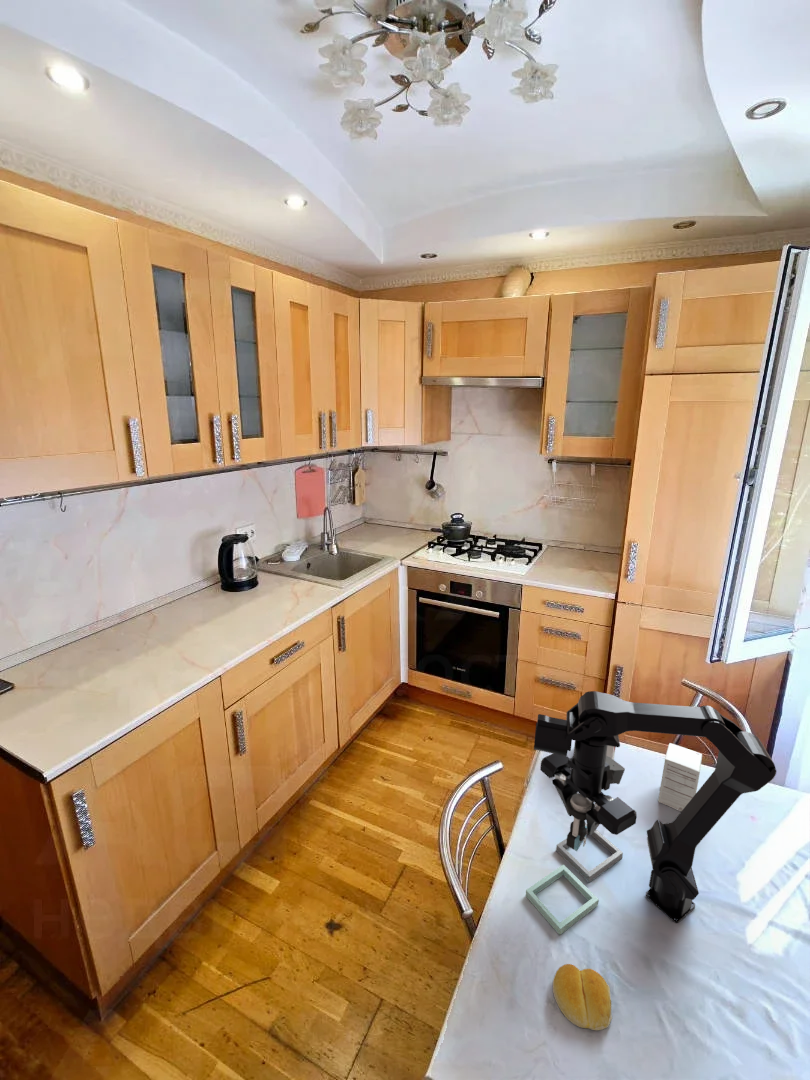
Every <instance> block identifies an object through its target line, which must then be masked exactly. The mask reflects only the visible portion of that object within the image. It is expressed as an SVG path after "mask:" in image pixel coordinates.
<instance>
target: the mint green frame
mask: <svg viewBox="0 0 810 1080" xmlns="http://www.w3.org/2000/svg"><path fill="white" fill-rule="evenodd" d="M562 877H564V878H565V879H567V881H568V882H569V883H570V884H571V885H572V886H573V887H574V888H575V889H576V890H577V891H579V893H580V894H581V895H582V896H583V897H584V898H585V899H586V900H587V902H585V903H584V904H582V905H581V906H579V907H578V909H576V910H575V911H573V912H572V913H571V914H569V915H568V916H567V917H566V918H564V919H563V920H562V921H561V922H560V921H559V920H558V918H556V916H555V915H554V914H553V913H552V912H551V911H550V910H549V908H547V906H546V905H545V904H544V903H543V902H542V901H541V900H540V898H539V897H538V896H537V894H538V893H540V892H541V891H543V890H544V889H545V888H547V887H549V886H550V885H551V884H552V883H554V882H556V881H557V880H558V879H560V878H562ZM525 897H526V898H527V899H528V900H529V901H530V903H531V904H532V905H533V906H534V907H535V908H536V909H537V911H538V912H539V913H540V914H541V916H543V918H544V919H545V920H546V921H547V923H548V924H549V925H550V926H551V927H552V928H553V929H554V931H556V933H557V934H558V935H559V936H560V935H562V934H564V932H566V931H567V930H568V929H569V928H571V927H572V926H574V925H575V924H576V923H577V922H579V921H580V920H581V919H583V917H585V916H587V914H589V913H590V912H592V911H593V910H594V909H595V908H596V907H598V906H599V898H598V897H597V896H596V895H595V894H594V893H593V892H592V891H591V890H590V889H589V888H588V887H587V886H586V885H585V883H583V881H581V880H580V879H579V878H578V877H577V876H576V875H575V874H574V873H573V872H572V871H571V870H570V869H569V868H568V867H567V866H566V865H565V864H562V865H561V866H559V867H557V868H556V869H554V870H553V871H552V872H550V873H549V874H547V875H546V876H545V877H543V878H541V879H540V880H538V881H537V882H535V883H534V884H532V885H530V887H528V888H527V889H526V890H525Z"/></svg>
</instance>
